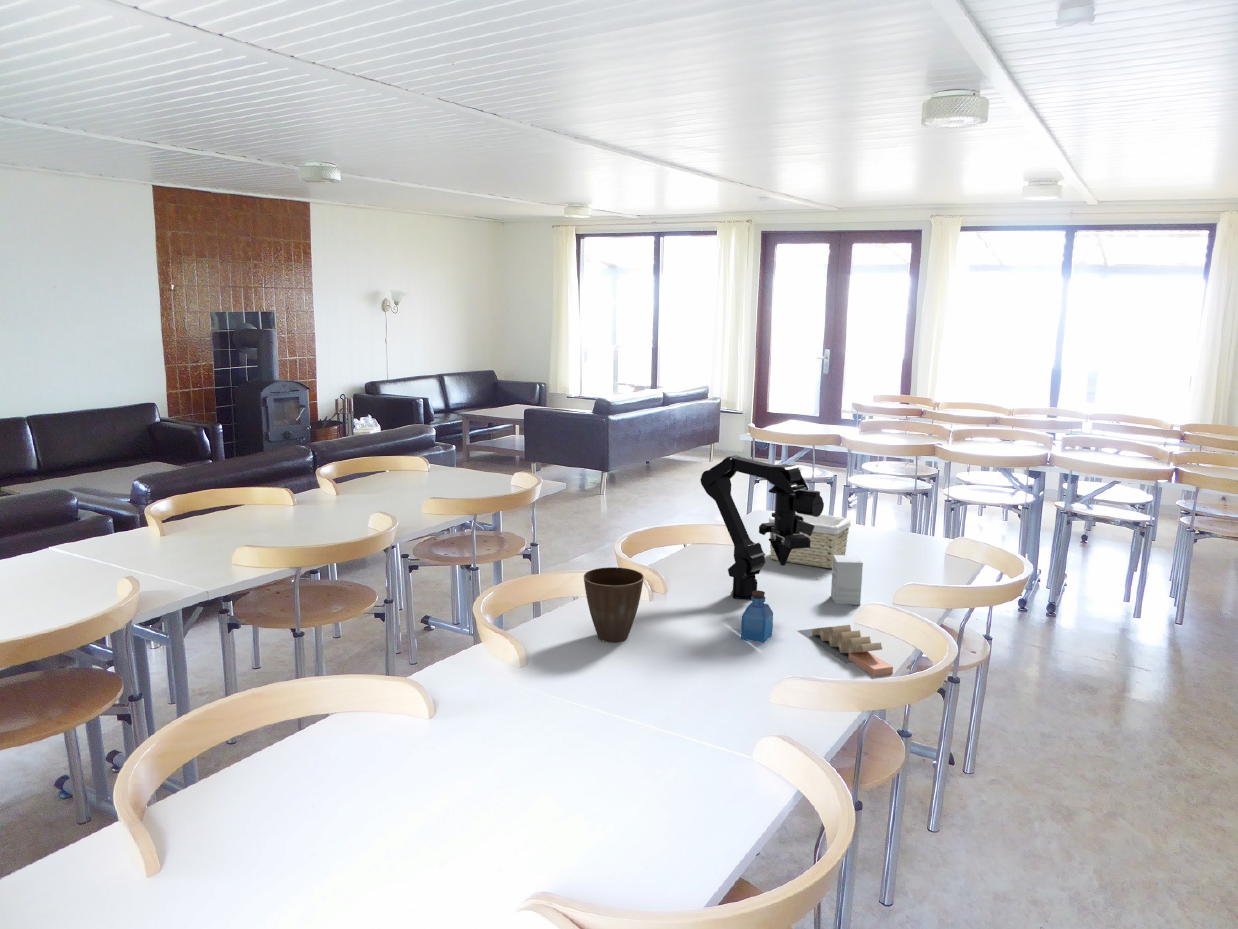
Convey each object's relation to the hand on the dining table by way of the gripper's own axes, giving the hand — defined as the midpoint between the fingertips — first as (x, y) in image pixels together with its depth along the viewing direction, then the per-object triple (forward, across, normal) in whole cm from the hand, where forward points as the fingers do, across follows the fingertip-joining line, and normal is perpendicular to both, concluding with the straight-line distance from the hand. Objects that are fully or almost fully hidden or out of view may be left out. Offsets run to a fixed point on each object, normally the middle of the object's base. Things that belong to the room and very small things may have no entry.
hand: (782, 565), depth 235 cm
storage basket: (+12, +40, -33) cm, 53 cm away
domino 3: (+11, -30, +1) cm, 32 cm away
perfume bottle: (+12, -19, +18) cm, 29 cm away
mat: (+12, -30, +1) cm, 32 cm away
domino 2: (+11, -26, +1) cm, 29 cm away
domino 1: (+11, -22, +1) cm, 25 cm away
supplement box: (+12, -1, -21) cm, 24 cm away
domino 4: (+11, -35, +1) cm, 36 cm away
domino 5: (+11, -38, +1) cm, 40 cm away
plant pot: (+12, -9, +52) cm, 55 cm away
